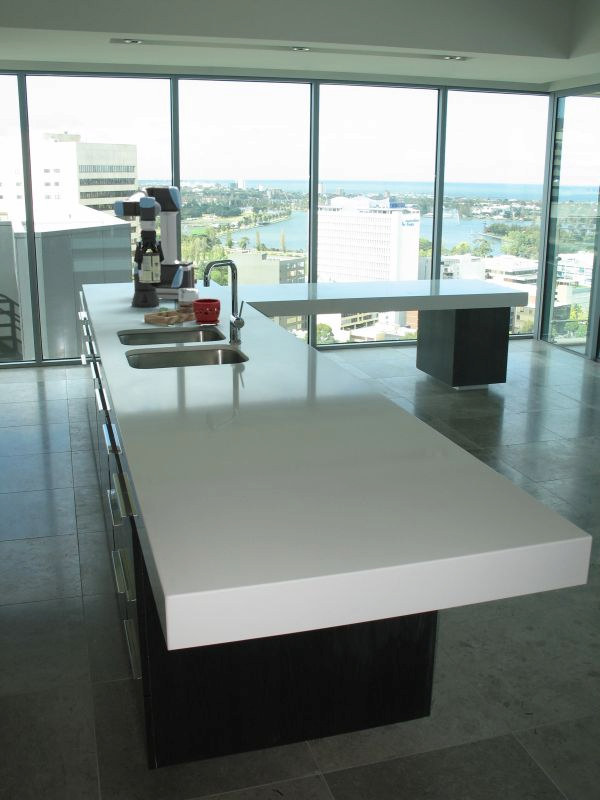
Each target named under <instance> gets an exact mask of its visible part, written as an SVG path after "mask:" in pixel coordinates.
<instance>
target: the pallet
mask: <svg viewBox="0 0 600 800" xmlns="http://www.w3.org/2000/svg"><path fill="white" fill-rule="evenodd" d="M169 310H170V311H164V312H157V313H146V314H143V315H144V316H143V317H144V323H145V324H150V325H158V326H163V325H165V326H164V327H169V326H168V325H171V326H175V325H174V324H177V323H182V322H189V321H196V320H197V319H196V317H195V314H194V313H191V314H186V313H180V312H179V308H177V309H169Z"/></svg>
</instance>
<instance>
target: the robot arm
mask: <svg viewBox="0 0 600 800" xmlns="http://www.w3.org/2000/svg"><path fill="white" fill-rule="evenodd" d="M182 202H183V201H182V196H181V192H180V189H179V188H178V187H177V186H175V185H174V186H172V185H147V186H143V187H140V188H138V189H136V190H134V191H133V192H132V193H131V195H130V196H128V197H127V198H126V199H125V200H121V199H120V200H116V201H114V204H113V211H114V214H115V216H117V217H139V218H140V220H139V221H140V222H139V226H140V227H139V228H140V229H141V230H140V238H141V241H136V243H135V244H136V247H135V251H134V252H135V253H134V256H133V262H134V263H136V265H135V266H134V268H133V283H134V294H133V296H132V301H131V307H134V308H140V307H141V308H149V309H150V308H157V307H156V306H158V307H160V306H159V305H160V299H158V297H157V294H156V287H171V288H173V287H179V286H180V285H181V283H182V278H183V267H182V266H180V262H179V261H180V260H178V245H177V242H178V241H177V239H178V238H177V215H178V214H179V212H180V211H179V210H180V209H182ZM158 215H159V224H160V225H159V227H160V228H159V230H160V231H159V232H160V240H156V238H157V230H156V229H157V216H158ZM148 250H150V251H151V252H153V253H160V254H159V257H160V282H156V283H142V282H139V281H140V278H139V277H144V274H143V263H142V261H143V255H140V253H142V254H145V253H146V252H148Z"/></svg>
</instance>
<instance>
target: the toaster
mask: <svg viewBox="0 0 600 800" xmlns="http://www.w3.org/2000/svg"><path fill="white" fill-rule="evenodd" d="M178 261H179V262H180V266H182V267H183V278H182V283H181V285H180V286H179V287H173V288H171V287H156V294H157V297H158V298H164V299H178V289H181V288H196V285H197V284H198V279H197V278H196V277H195V270H199V269H200V268H199V267H195V264H194V261H193V260H191V261H188V260H187V261H186V260H178Z"/></svg>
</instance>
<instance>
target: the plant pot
mask: <svg viewBox="0 0 600 800" xmlns="http://www.w3.org/2000/svg"><path fill="white" fill-rule="evenodd" d="M193 308H194V314H195V317H196V320H195V324H198V325H200V324H217V323H218V324H219V323H220V319H219V317H220V314H221V300H220V299H217V298H198V300H195V301H193ZM218 324H217V325H218Z"/></svg>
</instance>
